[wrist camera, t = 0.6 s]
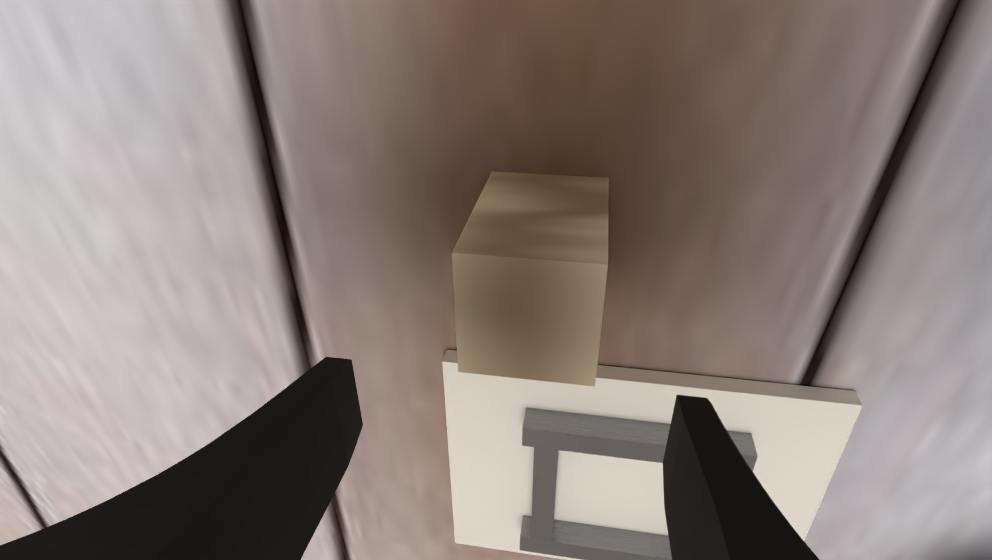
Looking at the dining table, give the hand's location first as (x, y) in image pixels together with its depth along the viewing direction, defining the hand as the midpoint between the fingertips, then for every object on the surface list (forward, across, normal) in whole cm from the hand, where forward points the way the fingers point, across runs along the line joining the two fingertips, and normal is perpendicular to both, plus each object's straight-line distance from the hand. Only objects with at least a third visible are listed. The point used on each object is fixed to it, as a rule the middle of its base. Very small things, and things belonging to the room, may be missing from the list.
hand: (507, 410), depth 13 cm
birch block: (+9, 0, 0) cm, 9 cm away
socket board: (+9, -4, +12) cm, 16 cm away
